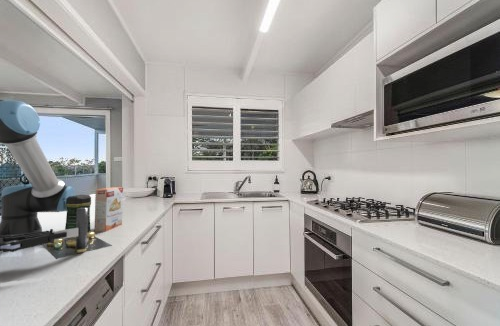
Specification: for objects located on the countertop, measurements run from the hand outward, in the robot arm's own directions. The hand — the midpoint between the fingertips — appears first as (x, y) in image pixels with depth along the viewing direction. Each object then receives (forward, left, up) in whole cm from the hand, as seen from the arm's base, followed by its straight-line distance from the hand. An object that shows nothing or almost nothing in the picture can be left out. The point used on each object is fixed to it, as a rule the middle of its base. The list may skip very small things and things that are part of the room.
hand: (77, 231), depth 80 cm
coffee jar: (-31, +9, -9) cm, 34 cm away
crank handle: (-8, +3, -8) cm, 12 cm away
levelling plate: (-12, +3, -9) cm, 16 cm away
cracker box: (-31, +22, -9) cm, 39 cm away
